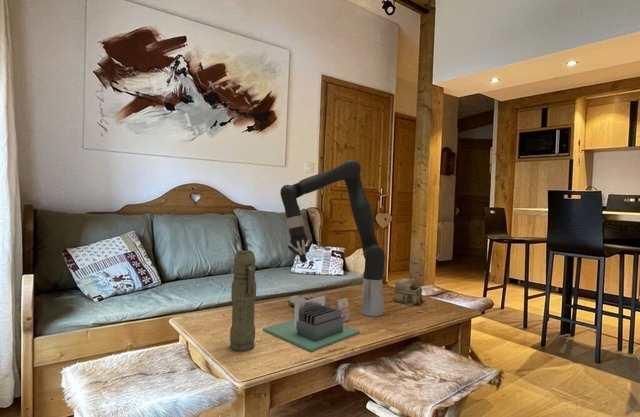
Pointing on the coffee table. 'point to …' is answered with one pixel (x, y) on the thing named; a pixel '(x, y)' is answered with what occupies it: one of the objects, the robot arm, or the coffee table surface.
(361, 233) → the robot arm
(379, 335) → the coffee table surface
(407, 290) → the miniature house
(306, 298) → the graphics card
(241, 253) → the thermos
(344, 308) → the tea bag
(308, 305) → the silver metal plate
